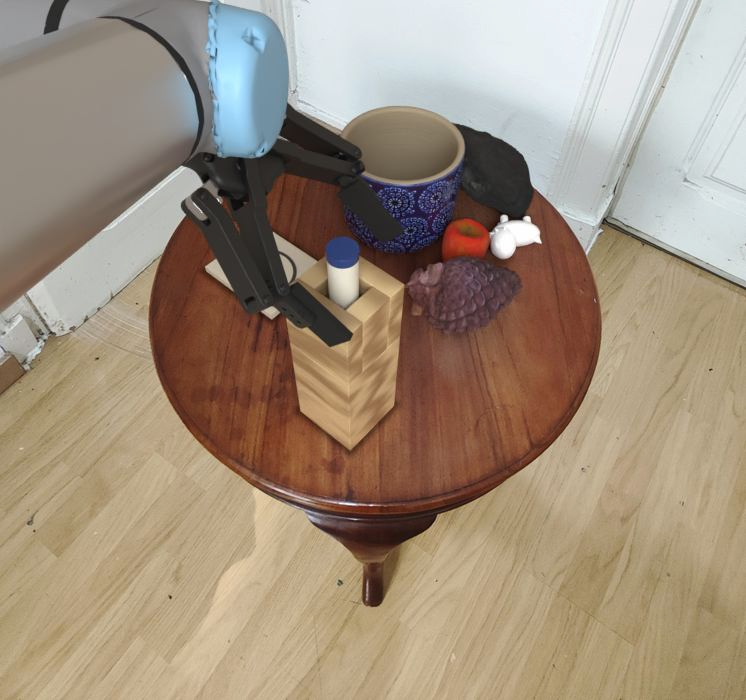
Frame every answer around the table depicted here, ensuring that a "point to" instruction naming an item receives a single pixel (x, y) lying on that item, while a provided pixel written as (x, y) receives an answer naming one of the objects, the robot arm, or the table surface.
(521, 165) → the rock
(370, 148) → the planter
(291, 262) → the drawing board
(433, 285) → the pine cone
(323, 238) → the table surface
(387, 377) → the pen block
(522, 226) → the toy creature
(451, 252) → the apple
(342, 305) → the marker
